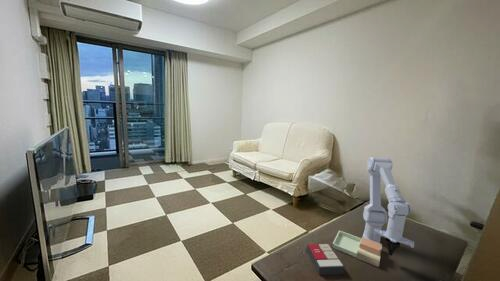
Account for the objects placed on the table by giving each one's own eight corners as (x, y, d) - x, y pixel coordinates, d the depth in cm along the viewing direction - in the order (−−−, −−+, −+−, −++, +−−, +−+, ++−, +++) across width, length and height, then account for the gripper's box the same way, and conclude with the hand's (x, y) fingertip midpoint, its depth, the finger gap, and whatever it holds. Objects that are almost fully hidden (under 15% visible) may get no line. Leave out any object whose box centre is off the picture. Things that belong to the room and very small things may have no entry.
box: (338, 233, 113) (339, 230, 113) (360, 242, 107) (361, 238, 106) (331, 247, 102) (332, 243, 102) (356, 257, 96) (356, 253, 95)
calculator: (328, 242, 101) (345, 265, 86) (327, 250, 101) (344, 274, 86) (306, 243, 100) (319, 266, 85) (306, 251, 100) (318, 275, 85)
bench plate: (360, 242, 107) (361, 237, 106) (381, 249, 102) (382, 244, 101) (356, 257, 96) (357, 252, 95) (378, 267, 91) (379, 261, 90)
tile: (361, 241, 103) (362, 237, 102) (380, 248, 98) (381, 243, 98) (359, 248, 98) (360, 243, 98) (379, 255, 93) (380, 250, 93)
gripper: (375, 225, 92) (371, 251, 94) (416, 238, 84) (410, 267, 86) (376, 218, 97) (372, 243, 100) (415, 230, 89) (410, 257, 92)
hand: (390, 254), depth 93 cm, fingers closed
